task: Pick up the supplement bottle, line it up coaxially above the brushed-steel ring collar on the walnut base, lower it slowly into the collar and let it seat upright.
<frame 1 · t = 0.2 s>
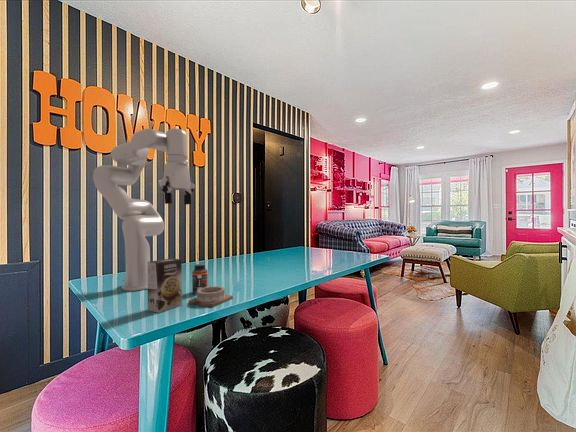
hand: (178, 203, 111), 36 cm above the table, tool pointing down, fingers open, 9 cm apart
socket collar: (211, 300, 101), on the table
supplement bottle: (200, 292, 113), on the table
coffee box: (165, 308, 94), on the table
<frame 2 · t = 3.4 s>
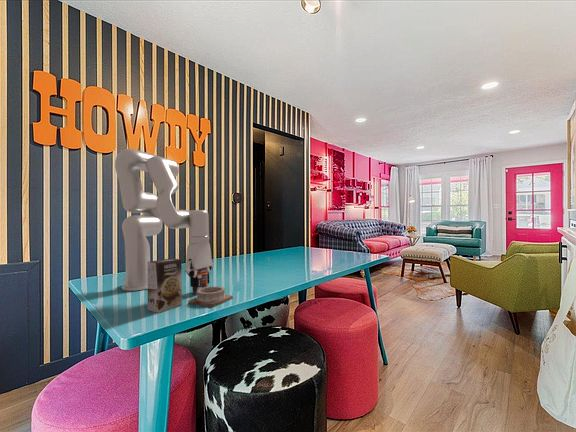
hand: (200, 284, 113), 3 cm above the table, tool pointing down, fingers closed on supplement bottle, 6 cm apart
supplement bottle: (200, 292, 113), on the table, touching gripper
everything else where it was.
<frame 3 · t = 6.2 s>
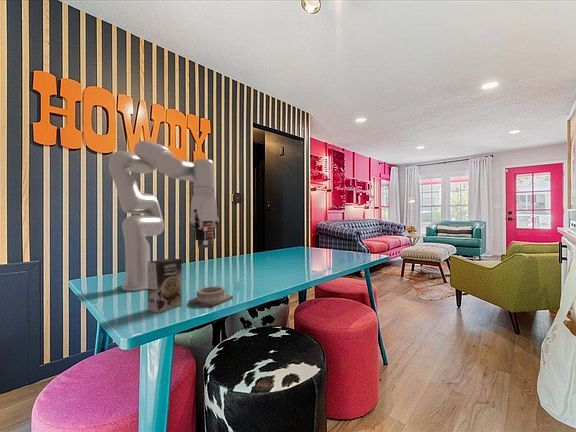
hand: (205, 239, 106), 22 cm above the table, tool pointing down, fingers closed on supplement bottle, 6 cm apart
supplement bottle: (205, 247, 106), point 19 cm above the table, touching gripper
everything else where it was.
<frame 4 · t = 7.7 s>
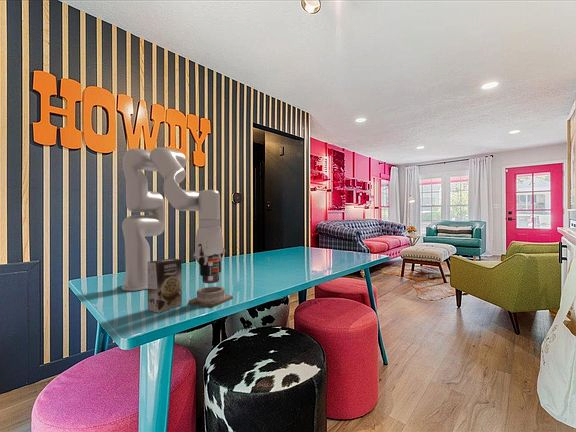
hand: (210, 273, 101), 10 cm above the table, tool pointing down, fingers closed on supplement bottle, 6 cm apart
supplement bottle: (211, 282, 101), point 7 cm above the table, touching gripper
everything else where it was.
when the fingers open (5 cm above the table, at t = 9.1 s): supplement bottle drops 1 cm, resting on socket collar.
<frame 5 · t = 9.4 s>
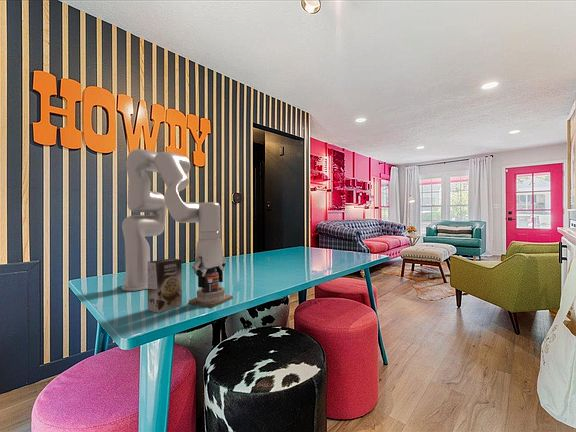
hand: (210, 284, 101), 6 cm above the table, tool pointing down, fingers open, 8 cm apart
supplement bottle: (210, 298, 101), point 1 cm above the table, touching socket collar
everything else where it was.
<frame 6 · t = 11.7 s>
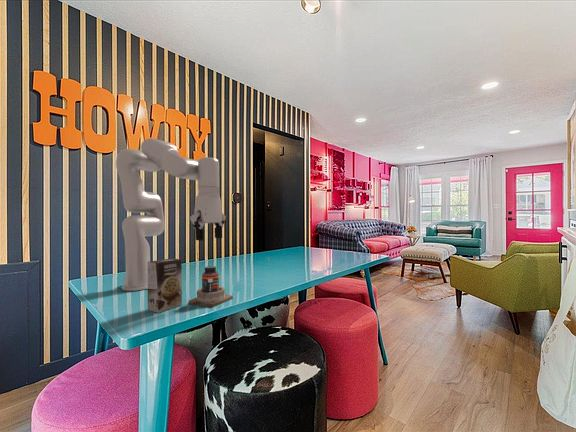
hand: (209, 239, 102), 22 cm above the table, tool pointing down, fingers open, 9 cm apart
nothing on the table moved.
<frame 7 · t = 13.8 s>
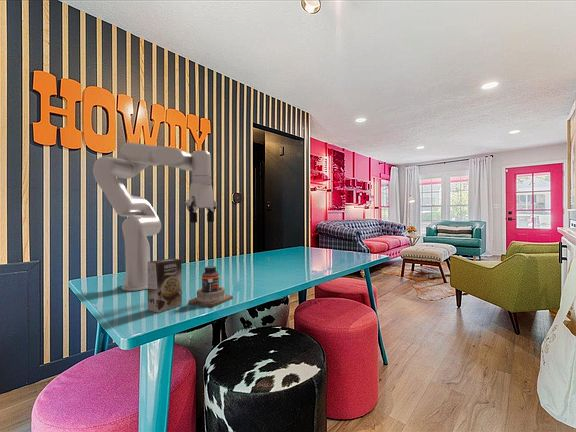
hand: (202, 222, 116), 28 cm above the table, tool pointing down, fingers open, 9 cm apart
nothing on the table moved.
at the end: supplement bottle 0.2 cm off-centre on the socket collar, point 0.8 cm above the socket collar's base; supplement bottle tilted 0°; the gripper is holding nothing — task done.
